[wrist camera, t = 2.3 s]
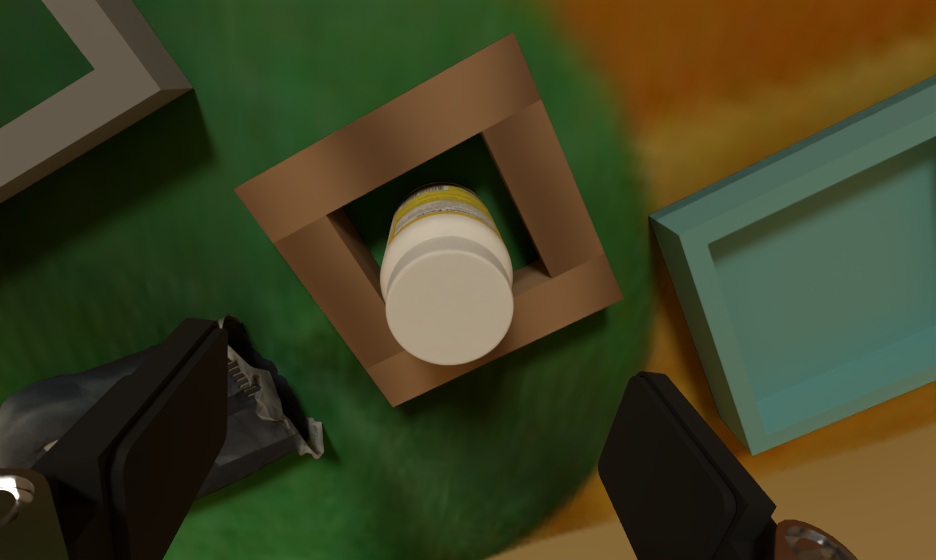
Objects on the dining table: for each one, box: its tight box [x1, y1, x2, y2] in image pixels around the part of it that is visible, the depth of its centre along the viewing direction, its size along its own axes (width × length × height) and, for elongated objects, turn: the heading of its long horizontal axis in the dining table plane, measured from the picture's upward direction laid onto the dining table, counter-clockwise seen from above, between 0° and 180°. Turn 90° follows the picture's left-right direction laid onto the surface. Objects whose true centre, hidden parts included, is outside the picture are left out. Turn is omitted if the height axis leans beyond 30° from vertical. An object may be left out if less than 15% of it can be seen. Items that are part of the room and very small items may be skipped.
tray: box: [649, 75, 936, 456], centre depth 23 cm, size 14×14×3 cm
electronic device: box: [0, 313, 324, 501], centre depth 24 cm, size 9×6×15 cm
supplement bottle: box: [380, 182, 514, 365], centre depth 18 cm, size 5×5×8 cm
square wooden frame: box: [234, 32, 623, 407], centre depth 21 cm, size 12×12×2 cm
